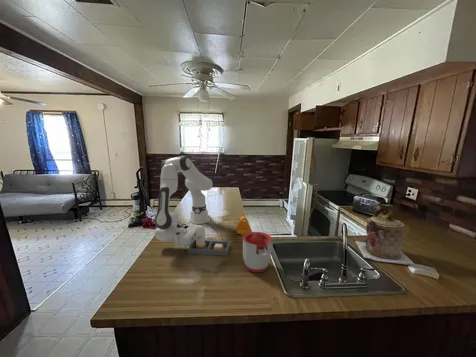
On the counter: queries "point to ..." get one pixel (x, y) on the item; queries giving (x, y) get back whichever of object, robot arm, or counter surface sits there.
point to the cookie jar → (384, 237)
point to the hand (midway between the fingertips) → (202, 235)
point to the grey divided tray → (216, 251)
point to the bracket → (243, 226)
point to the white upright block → (201, 232)
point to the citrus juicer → (256, 251)
